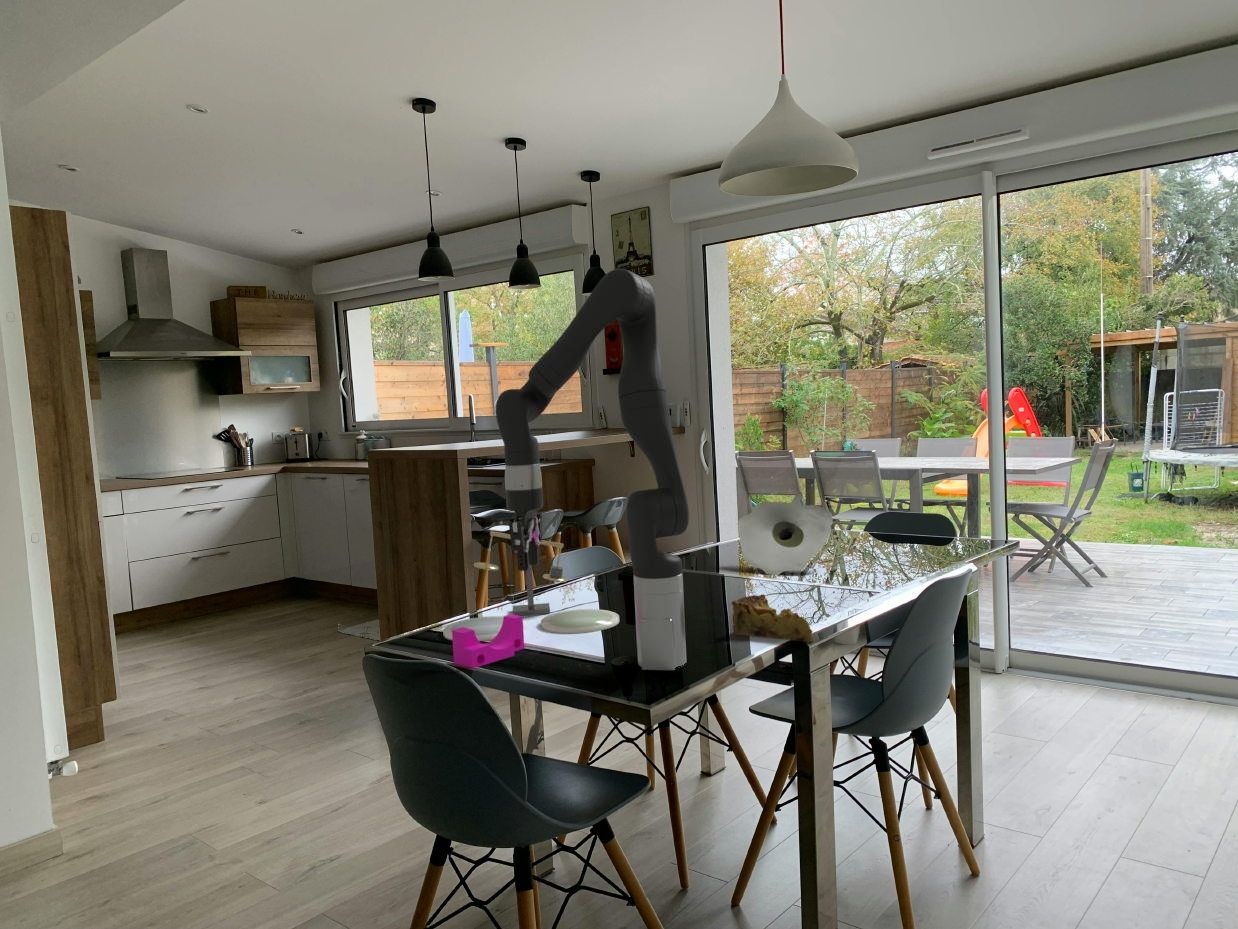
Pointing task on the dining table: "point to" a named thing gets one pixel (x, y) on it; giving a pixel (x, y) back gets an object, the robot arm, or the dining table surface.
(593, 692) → the dining table surface
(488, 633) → the grey dish
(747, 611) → the pie slice
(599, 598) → the dining table surface
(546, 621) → the sage dish
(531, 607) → the balance stand
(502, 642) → the toy block
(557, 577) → the balance beam
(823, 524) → the flower planter
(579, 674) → the dining table surface
